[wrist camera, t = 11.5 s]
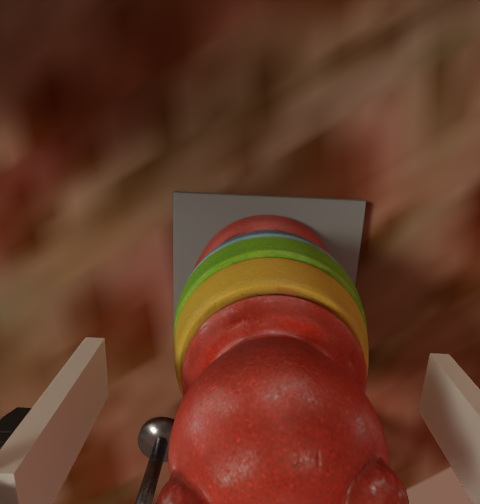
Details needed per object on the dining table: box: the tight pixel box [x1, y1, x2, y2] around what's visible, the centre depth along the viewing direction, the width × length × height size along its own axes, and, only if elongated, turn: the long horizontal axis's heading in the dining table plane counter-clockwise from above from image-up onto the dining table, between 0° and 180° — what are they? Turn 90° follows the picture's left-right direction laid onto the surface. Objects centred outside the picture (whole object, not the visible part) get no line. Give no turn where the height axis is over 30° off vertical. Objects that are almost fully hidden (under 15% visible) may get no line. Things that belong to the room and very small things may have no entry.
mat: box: [173, 191, 366, 321], centre depth 27 cm, size 12×12×1 cm
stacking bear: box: [156, 215, 409, 504], centre depth 18 cm, size 11×10×18 cm
